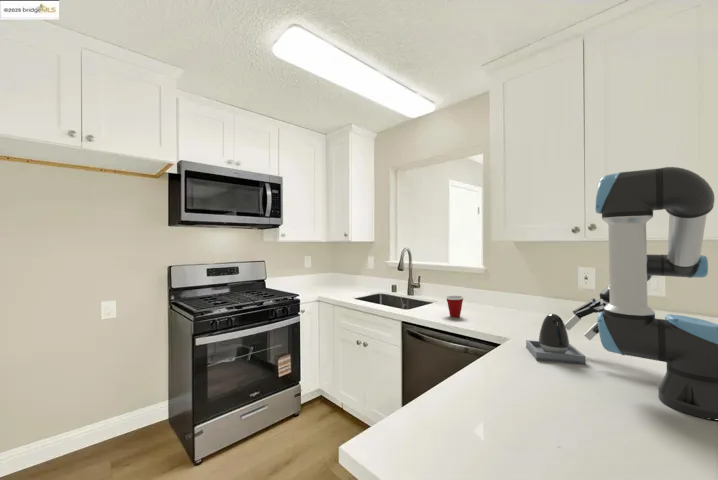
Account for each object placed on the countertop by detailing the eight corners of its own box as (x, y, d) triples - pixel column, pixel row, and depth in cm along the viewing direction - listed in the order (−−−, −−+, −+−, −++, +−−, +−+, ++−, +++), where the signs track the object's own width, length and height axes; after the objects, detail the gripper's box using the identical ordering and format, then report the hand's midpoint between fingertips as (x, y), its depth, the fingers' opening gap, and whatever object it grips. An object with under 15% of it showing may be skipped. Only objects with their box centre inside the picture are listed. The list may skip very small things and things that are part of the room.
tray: (585, 364, 115) (585, 356, 115) (536, 360, 119) (536, 352, 119) (569, 350, 130) (569, 343, 130) (526, 347, 134) (526, 340, 134)
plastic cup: (441, 315, 197) (441, 296, 197) (455, 313, 201) (455, 294, 201) (453, 319, 187) (453, 298, 187) (467, 317, 191) (467, 297, 192)
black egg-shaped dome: (539, 354, 122) (538, 315, 122) (538, 347, 131) (538, 310, 132) (571, 359, 117) (570, 318, 118) (567, 351, 126) (567, 312, 127)
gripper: (649, 307, 110) (604, 349, 111) (601, 296, 135) (565, 330, 136) (633, 292, 111) (588, 334, 112) (588, 283, 136) (552, 318, 137)
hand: (575, 332), depth 124 cm, fingers open, 13 cm apart
